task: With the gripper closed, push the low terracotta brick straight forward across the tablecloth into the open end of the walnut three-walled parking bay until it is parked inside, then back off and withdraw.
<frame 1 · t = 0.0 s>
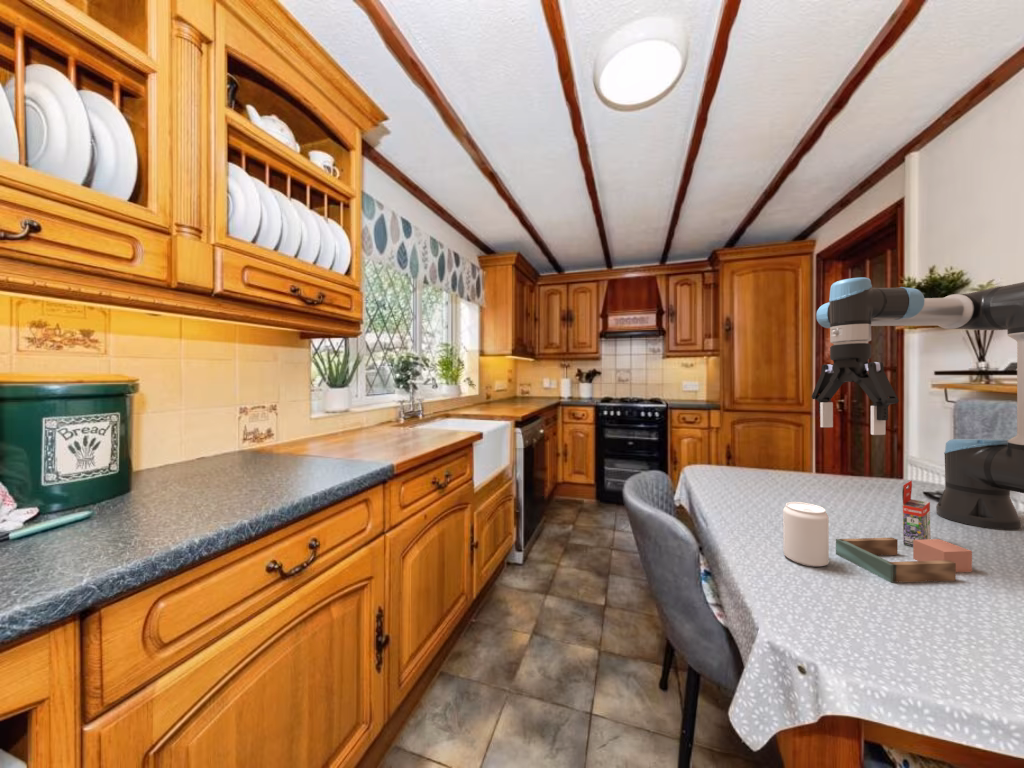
hand: (850, 430, 93), 28 cm above the table, fingers open, 13 cm apart
beverage can: (805, 560, 86), on the table
terracotta brick: (941, 565, 83), on the table
ink box: (916, 543, 94), on the table
bay: (892, 566, 82), on the table
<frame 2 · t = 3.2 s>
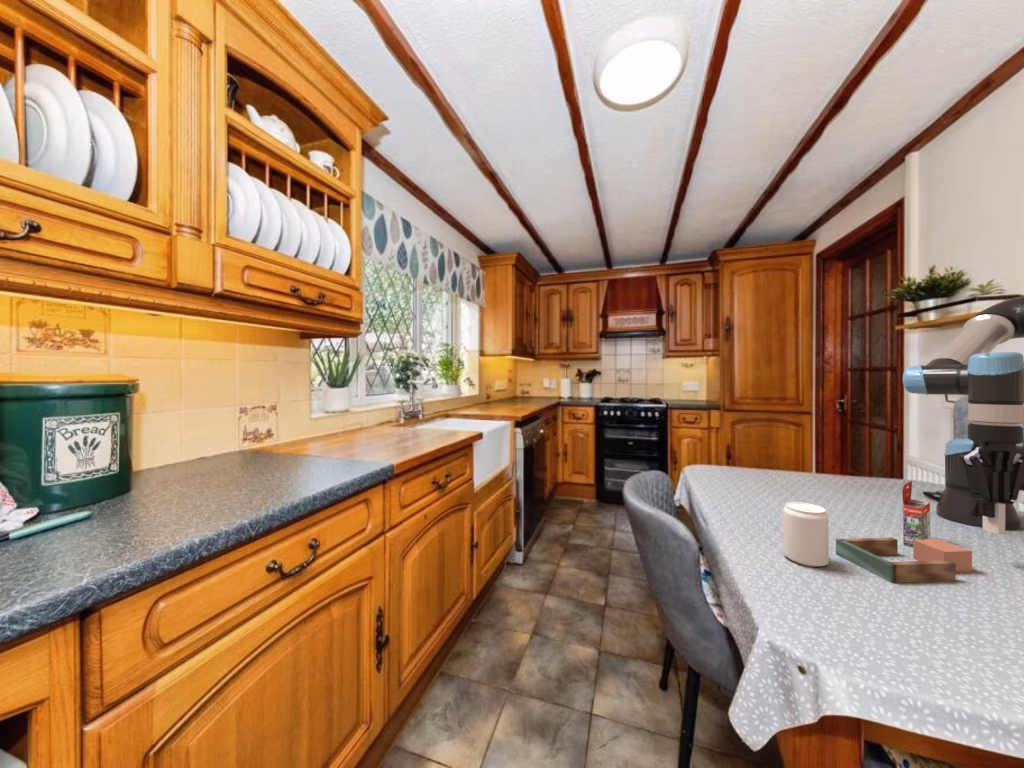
hand: (993, 531, 83), 7 cm above the table, fingers closed
nothing on the table moved.
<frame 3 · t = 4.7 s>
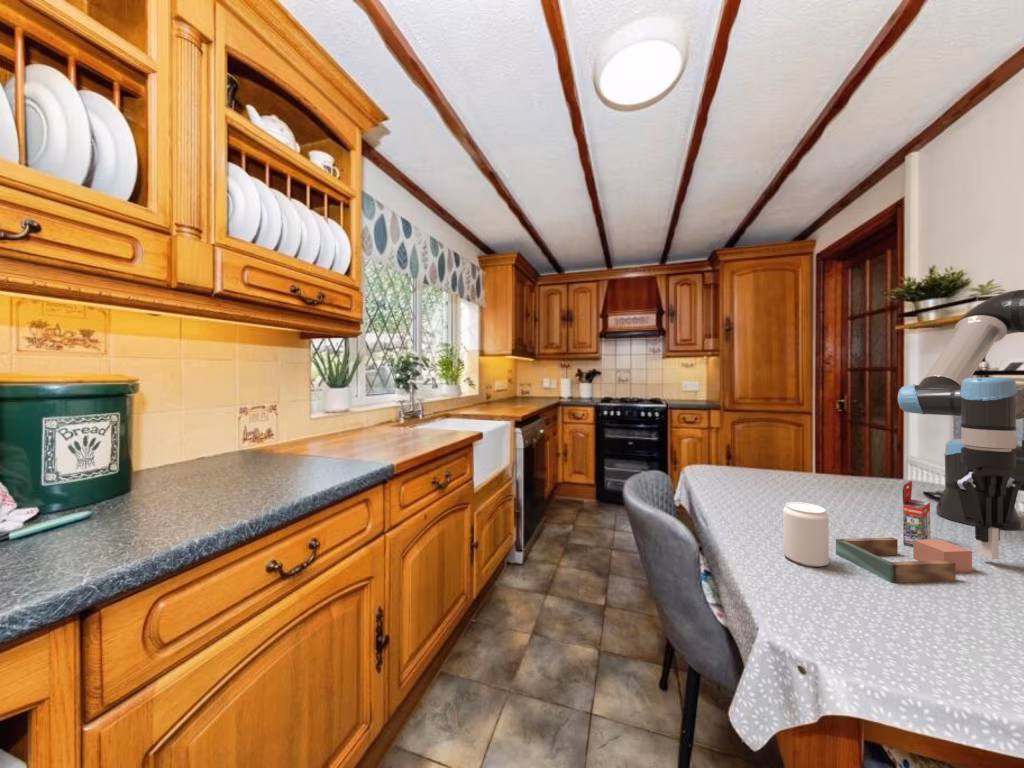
hand: (987, 555, 83), 2 cm above the table, fingers closed
nothing on the table moved.
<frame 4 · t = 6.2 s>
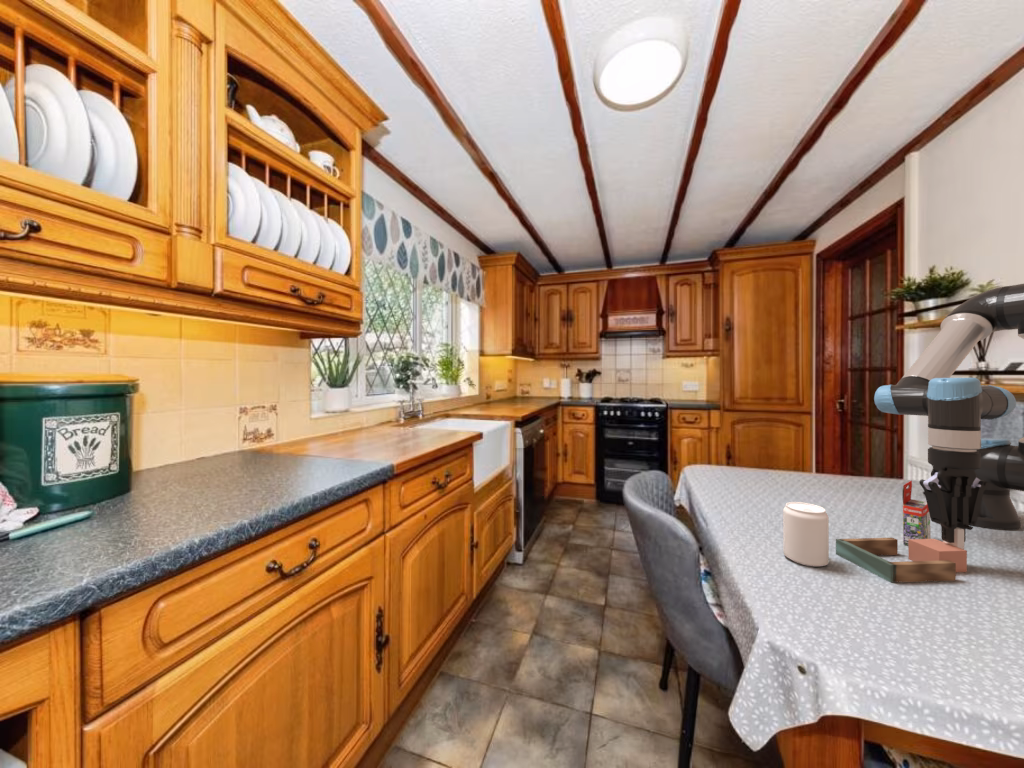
hand: (953, 556, 83), 2 cm above the table, fingers closed
terracotta brick: (936, 565, 83), on the table
everything else where it was.
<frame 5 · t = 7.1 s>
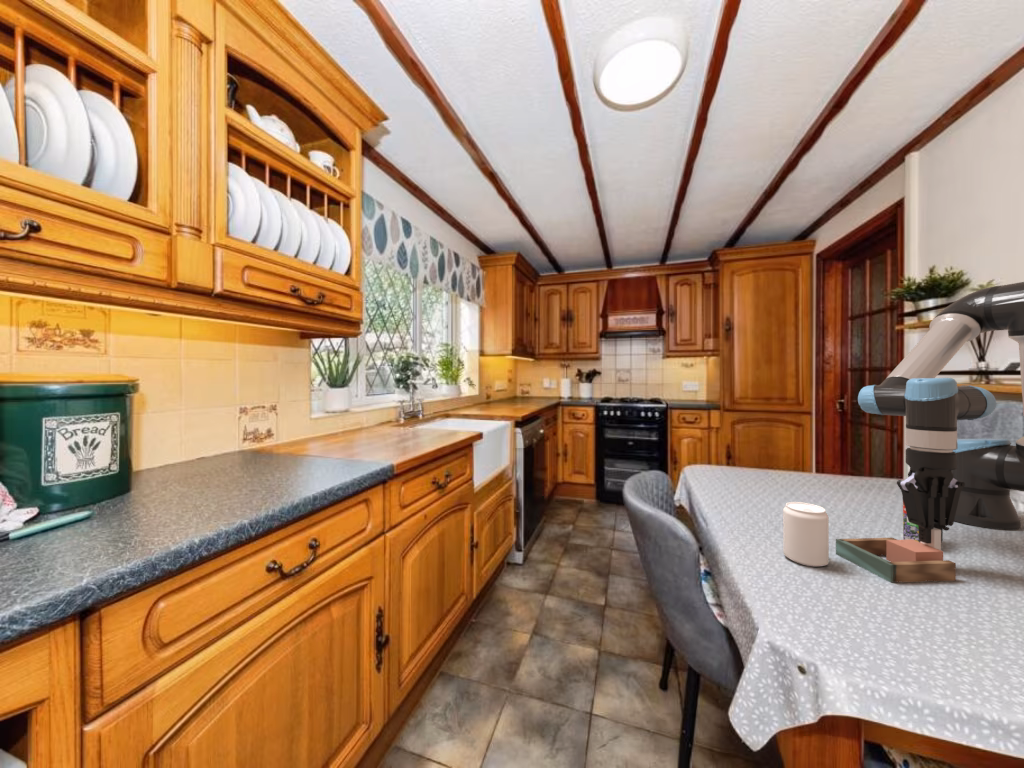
hand: (930, 557, 83), 2 cm above the table, fingers closed
terracotta brick: (913, 566, 83), on the table, touching gripper
everything else where it was.
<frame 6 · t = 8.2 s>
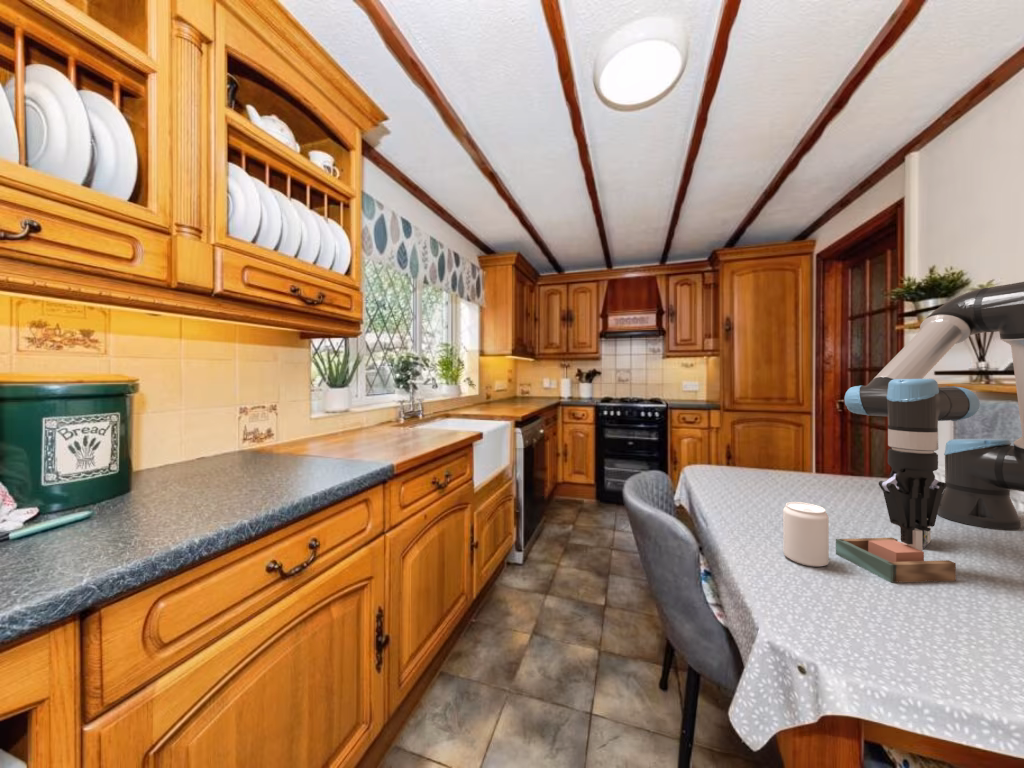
hand: (912, 558, 82), 2 cm above the table, fingers closed
terracotta brick: (895, 566, 82), on the table, touching gripper
everything else where it was.
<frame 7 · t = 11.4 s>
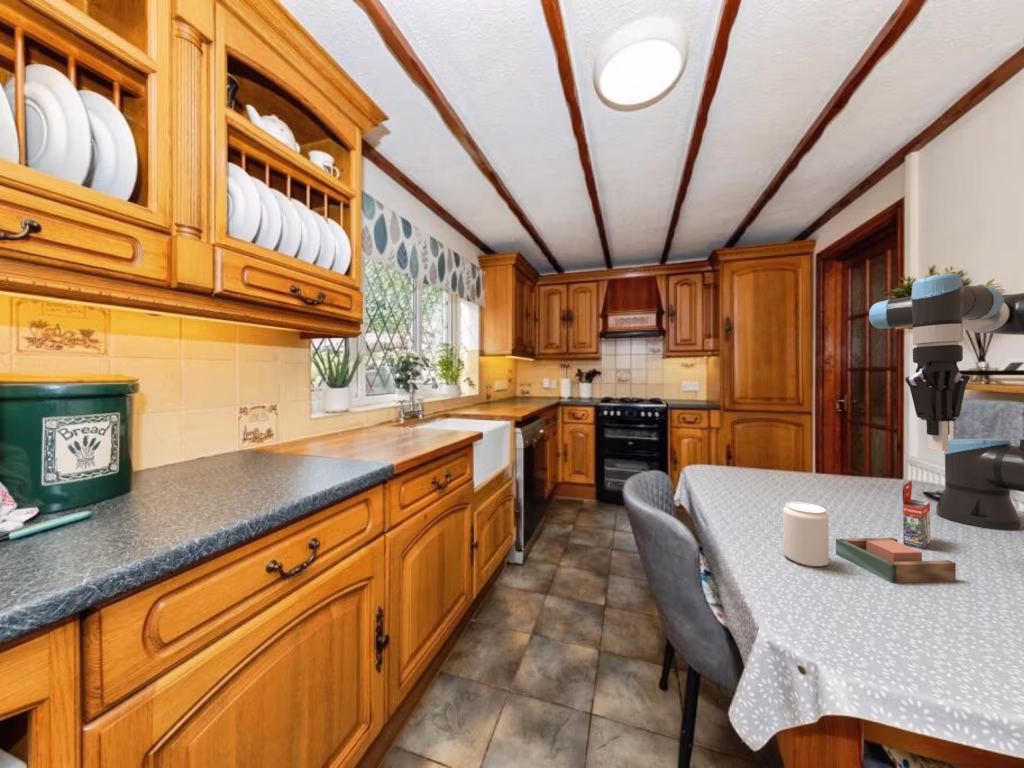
hand: (938, 449, 86), 24 cm above the table, fingers closed
terracotta brick: (893, 566, 83), on the table
everything else where it was.
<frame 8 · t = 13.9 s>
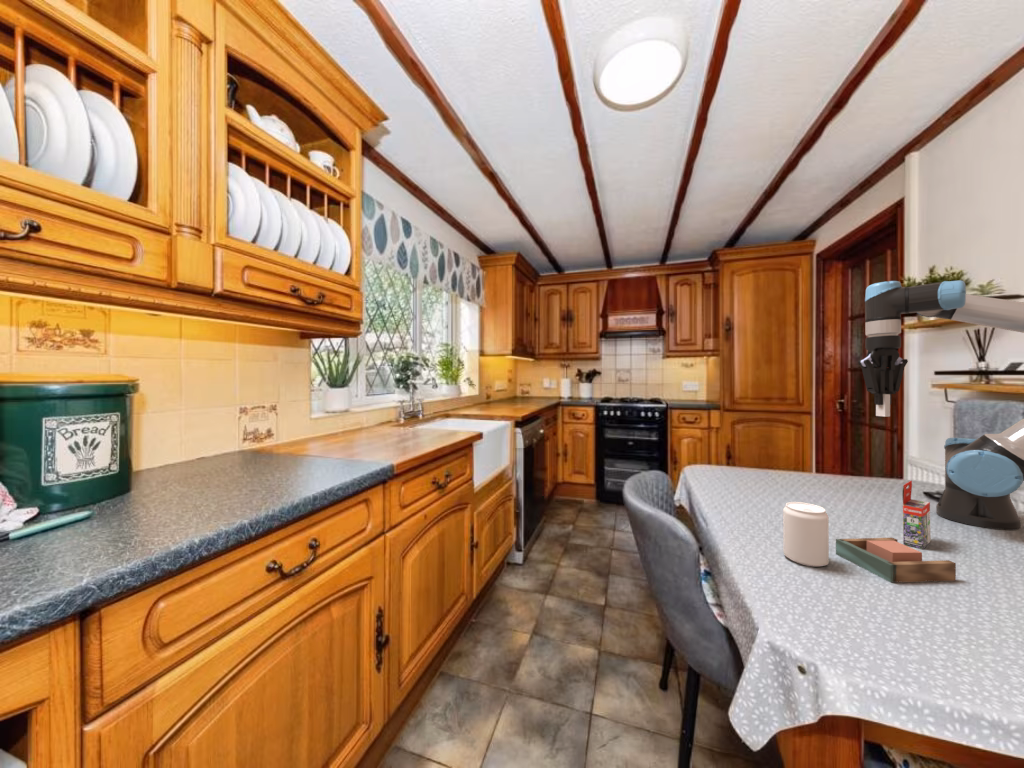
hand: (882, 416, 112), 29 cm above the table, fingers closed
nothing on the table moved.
at the end: terracotta brick inside the target area (1.3 cm from its centre), on the table; terracotta brick tilted 0° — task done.
